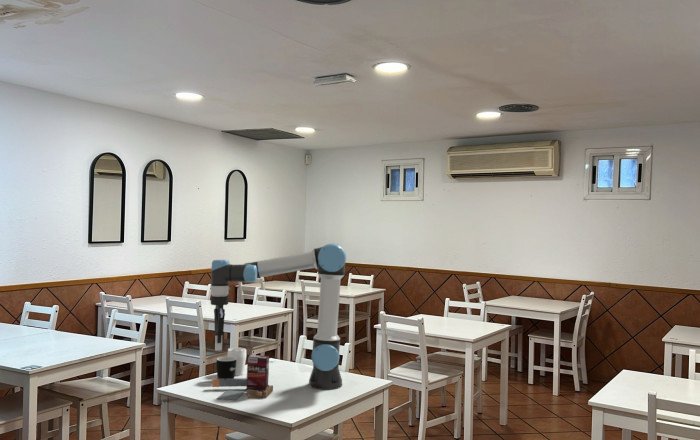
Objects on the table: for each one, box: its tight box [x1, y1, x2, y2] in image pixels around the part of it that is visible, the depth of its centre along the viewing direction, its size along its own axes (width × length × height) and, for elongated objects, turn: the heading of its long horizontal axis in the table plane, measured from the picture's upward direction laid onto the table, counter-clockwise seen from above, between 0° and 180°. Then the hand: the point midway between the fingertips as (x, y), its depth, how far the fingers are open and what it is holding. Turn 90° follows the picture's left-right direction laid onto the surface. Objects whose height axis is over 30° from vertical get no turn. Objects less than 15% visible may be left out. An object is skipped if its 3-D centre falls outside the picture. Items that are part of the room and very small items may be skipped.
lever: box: [211, 377, 247, 388], centre depth 248 cm, size 3×19×5 cm, turn 97°
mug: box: [216, 356, 236, 379], centre depth 263 cm, size 12×9×10 cm
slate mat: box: [216, 390, 246, 401], centre depth 238 cm, size 8×12×1 cm, turn 173°
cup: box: [227, 347, 247, 377], centre depth 275 cm, size 9×9×12 cm
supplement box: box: [245, 354, 270, 396], centre depth 242 cm, size 9×5×16 cm, turn 85°
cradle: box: [248, 384, 274, 399], centre depth 243 cm, size 12×15×2 cm
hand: (218, 350), depth 244 cm, fingers closed
